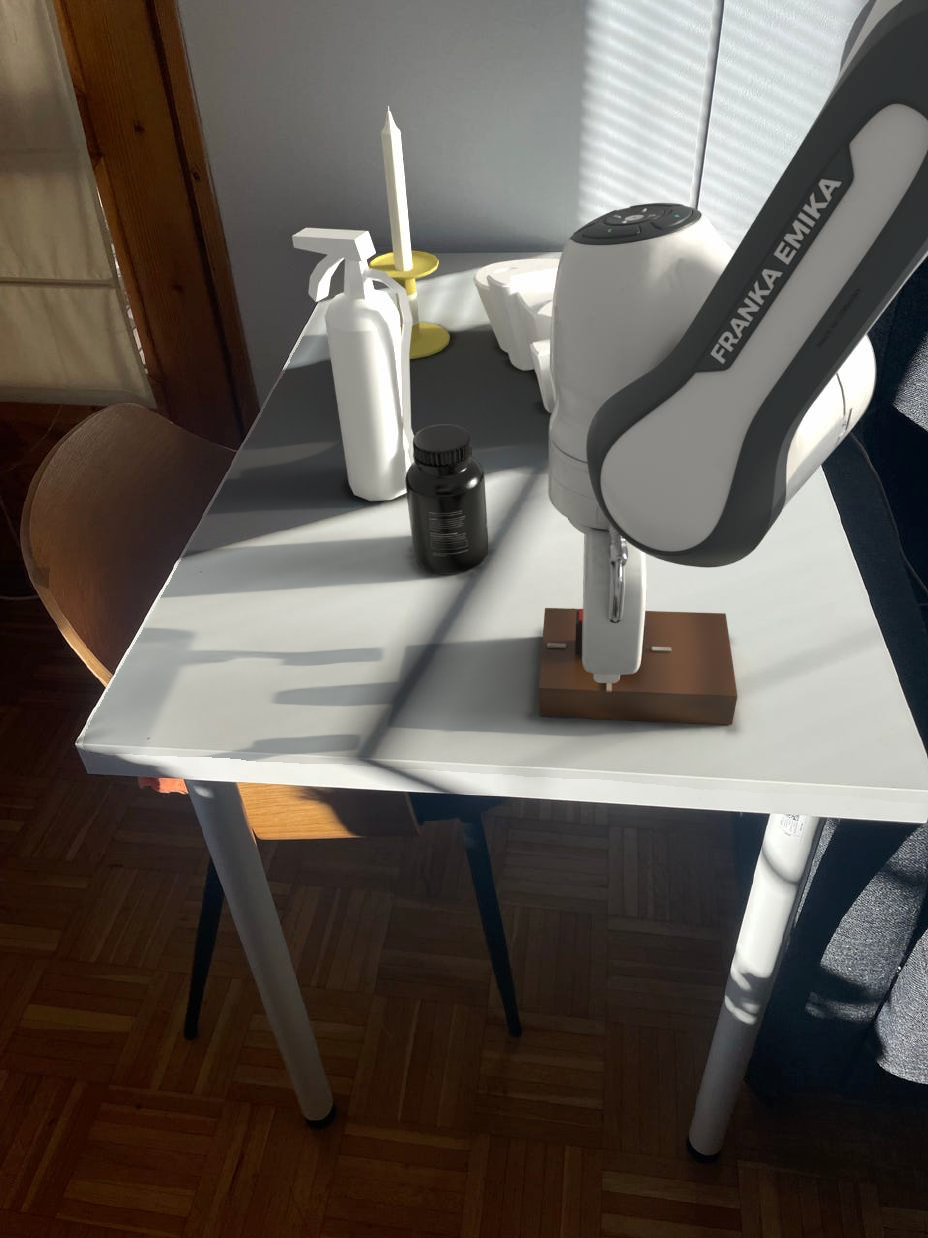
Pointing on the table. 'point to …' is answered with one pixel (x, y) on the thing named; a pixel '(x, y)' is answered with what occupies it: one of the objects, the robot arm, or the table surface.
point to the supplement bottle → (446, 501)
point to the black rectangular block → (579, 632)
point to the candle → (406, 248)
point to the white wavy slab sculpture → (522, 314)
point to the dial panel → (644, 672)
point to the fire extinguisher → (366, 362)
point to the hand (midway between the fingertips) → (605, 631)
